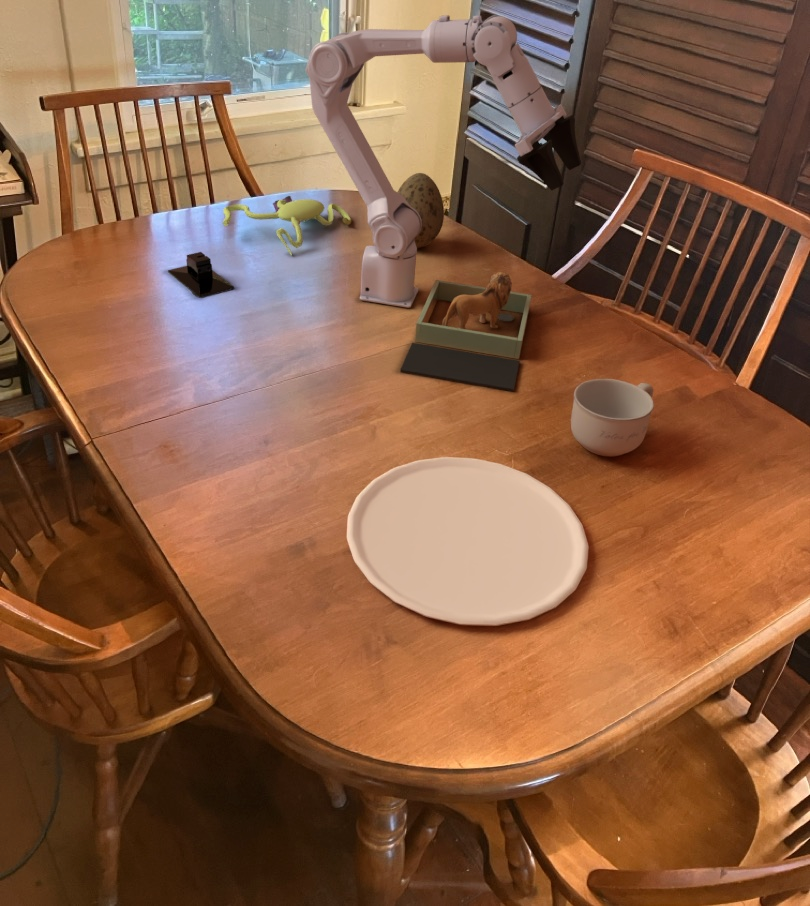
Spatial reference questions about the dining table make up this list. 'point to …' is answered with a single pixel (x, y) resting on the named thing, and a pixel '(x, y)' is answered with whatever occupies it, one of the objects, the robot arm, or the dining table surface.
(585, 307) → the dining table surface
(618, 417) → the teacup
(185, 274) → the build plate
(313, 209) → the figurine
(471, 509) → the plate
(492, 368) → the mat
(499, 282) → the lion figurine
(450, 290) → the green square tray
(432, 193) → the decorative egg
